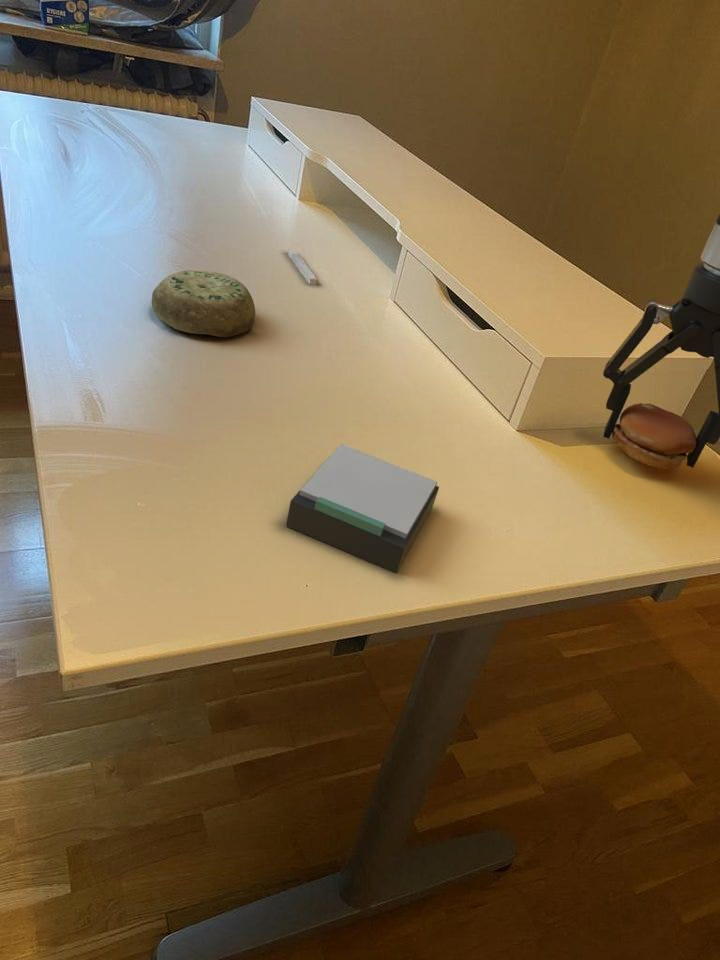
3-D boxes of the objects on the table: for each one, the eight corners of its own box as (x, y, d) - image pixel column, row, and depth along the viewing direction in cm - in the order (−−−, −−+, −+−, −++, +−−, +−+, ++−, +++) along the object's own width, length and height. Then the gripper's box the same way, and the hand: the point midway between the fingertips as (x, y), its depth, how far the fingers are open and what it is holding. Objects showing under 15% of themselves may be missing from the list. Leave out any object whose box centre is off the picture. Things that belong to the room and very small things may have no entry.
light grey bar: (315, 284, 118) (316, 279, 117) (309, 284, 117) (310, 278, 117) (294, 255, 127) (295, 249, 126) (288, 255, 127) (289, 249, 126)
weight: (128, 312, 96) (129, 275, 93) (196, 290, 106) (199, 256, 103) (210, 352, 92) (214, 314, 89) (273, 324, 102) (278, 290, 99)
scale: (431, 510, 74) (442, 478, 72) (396, 573, 65) (407, 539, 63) (332, 470, 76) (339, 438, 74) (285, 526, 67) (292, 491, 65)
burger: (652, 476, 86) (669, 442, 83) (594, 435, 92) (608, 402, 89) (702, 463, 91) (719, 431, 88) (643, 425, 97) (658, 394, 94)
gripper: (836, 294, 80) (738, 465, 92) (632, 235, 84) (564, 405, 97) (848, 314, 74) (741, 494, 86) (627, 249, 78) (556, 429, 90)
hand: (648, 447), depth 91 cm, fingers closed on burger, 10 cm apart
